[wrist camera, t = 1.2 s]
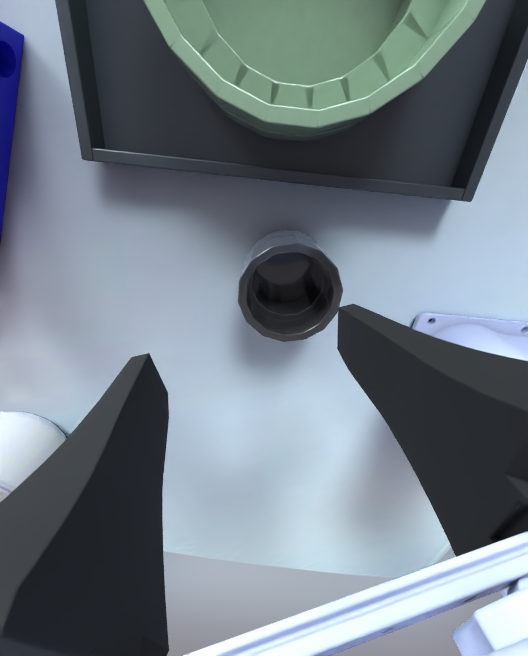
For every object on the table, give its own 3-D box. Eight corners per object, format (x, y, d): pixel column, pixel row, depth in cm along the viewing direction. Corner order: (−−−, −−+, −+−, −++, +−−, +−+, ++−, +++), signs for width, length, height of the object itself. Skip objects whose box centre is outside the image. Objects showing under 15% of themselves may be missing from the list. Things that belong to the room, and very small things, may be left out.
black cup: (332, 232, 18) (353, 248, 14) (316, 311, 21) (330, 346, 17) (247, 223, 18) (241, 237, 14) (242, 304, 21) (236, 337, 16)
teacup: (-35, 379, 24) (-160, 461, 17) (96, 409, 26) (30, 496, 19) (-14, 479, 30) (-100, 571, 23) (91, 499, 32) (40, 591, 25)
